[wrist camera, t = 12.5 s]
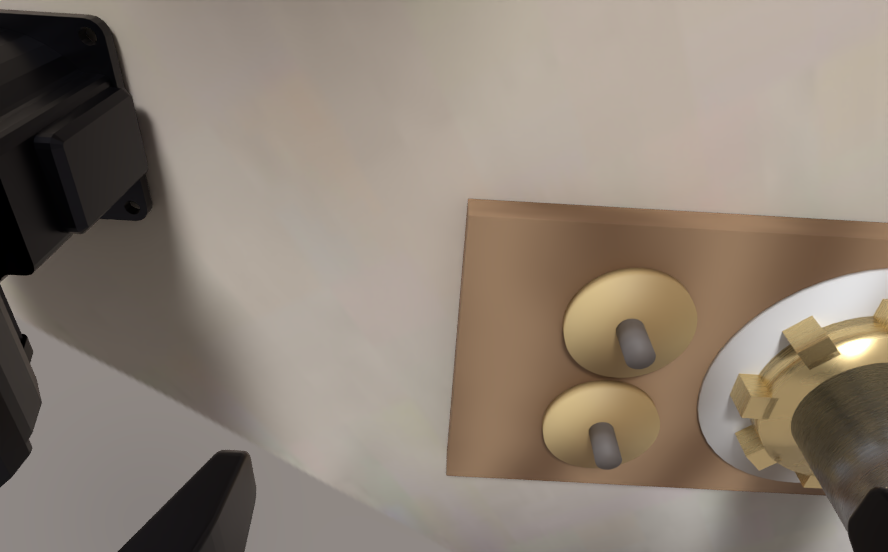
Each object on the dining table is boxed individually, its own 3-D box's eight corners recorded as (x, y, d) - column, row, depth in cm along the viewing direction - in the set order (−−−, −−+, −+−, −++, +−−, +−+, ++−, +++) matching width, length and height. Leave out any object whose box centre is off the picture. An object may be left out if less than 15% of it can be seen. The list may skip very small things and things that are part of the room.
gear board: (446, 453, 28) (445, 515, 25) (468, 198, 21) (469, 247, 18) (922, 479, 28) (970, 542, 26) (1108, 235, 21) (1201, 289, 18)
